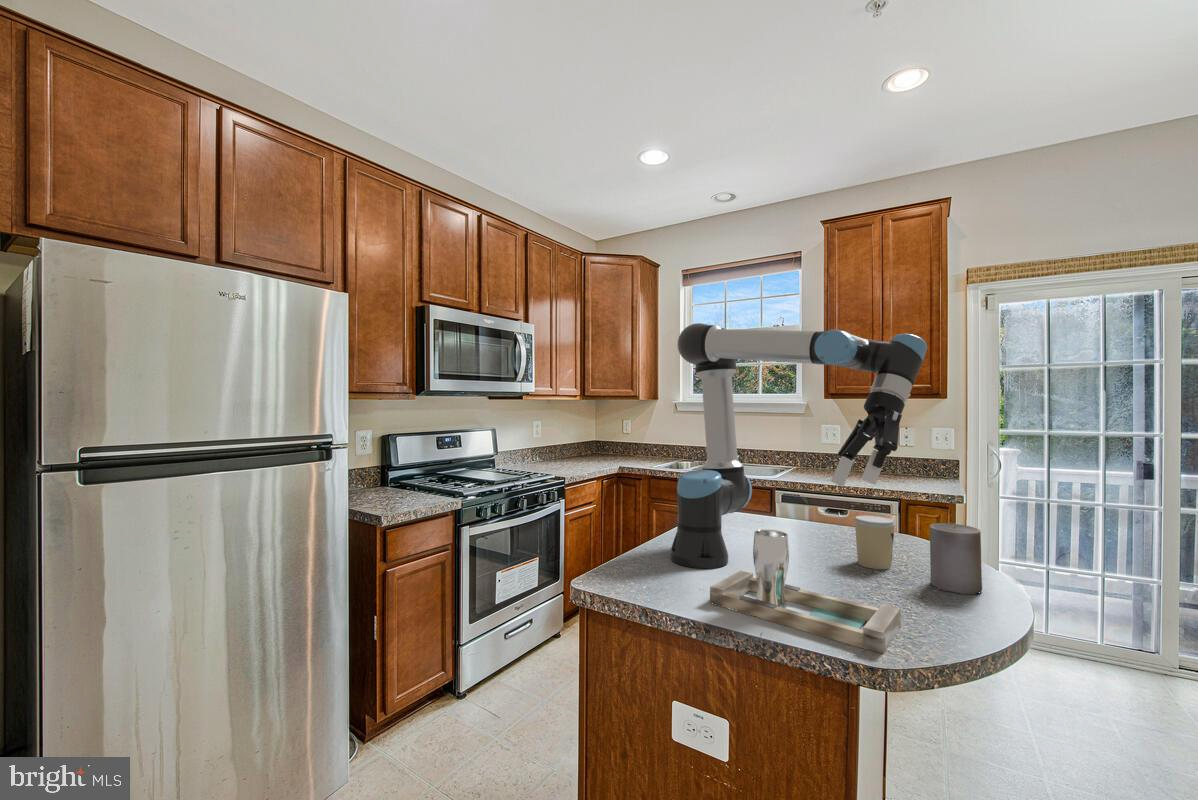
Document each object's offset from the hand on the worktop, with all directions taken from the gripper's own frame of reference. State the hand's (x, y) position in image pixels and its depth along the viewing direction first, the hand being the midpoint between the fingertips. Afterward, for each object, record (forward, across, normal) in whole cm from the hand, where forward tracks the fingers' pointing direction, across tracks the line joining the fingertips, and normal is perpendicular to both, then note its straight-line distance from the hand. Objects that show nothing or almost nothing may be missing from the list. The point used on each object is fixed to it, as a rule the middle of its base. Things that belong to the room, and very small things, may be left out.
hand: (851, 482), depth 109 cm
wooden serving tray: (+30, -5, +1) cm, 30 cm away
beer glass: (+32, -1, +6) cm, 32 cm away
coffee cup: (+10, +27, -25) cm, 38 cm away
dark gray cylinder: (+8, +11, -35) cm, 38 cm away
